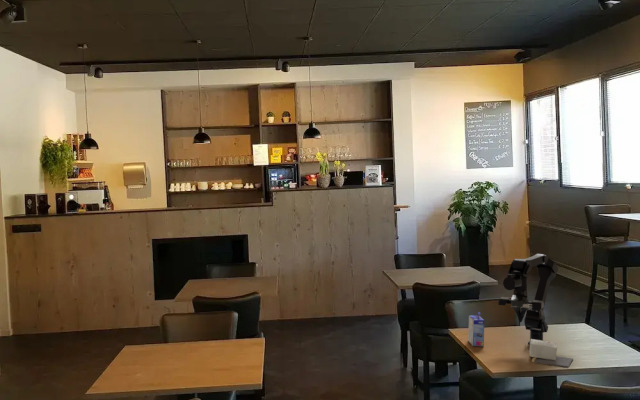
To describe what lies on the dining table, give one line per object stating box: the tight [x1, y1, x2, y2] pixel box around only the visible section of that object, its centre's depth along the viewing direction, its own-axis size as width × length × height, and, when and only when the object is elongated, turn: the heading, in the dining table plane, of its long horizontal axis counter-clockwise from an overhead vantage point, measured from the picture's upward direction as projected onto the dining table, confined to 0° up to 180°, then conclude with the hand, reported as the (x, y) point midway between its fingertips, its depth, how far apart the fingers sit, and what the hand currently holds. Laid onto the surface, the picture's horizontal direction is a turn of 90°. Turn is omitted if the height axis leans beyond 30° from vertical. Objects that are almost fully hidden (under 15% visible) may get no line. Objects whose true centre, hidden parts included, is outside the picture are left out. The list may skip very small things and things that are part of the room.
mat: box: [531, 355, 574, 368], centre depth 249 cm, size 12×14×1 cm
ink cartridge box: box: [467, 311, 485, 347], centre depth 276 cm, size 10×6×14 cm, turn 178°
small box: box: [529, 339, 558, 361], centre depth 253 cm, size 8×6×10 cm
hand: (520, 322), depth 265 cm, fingers closed
